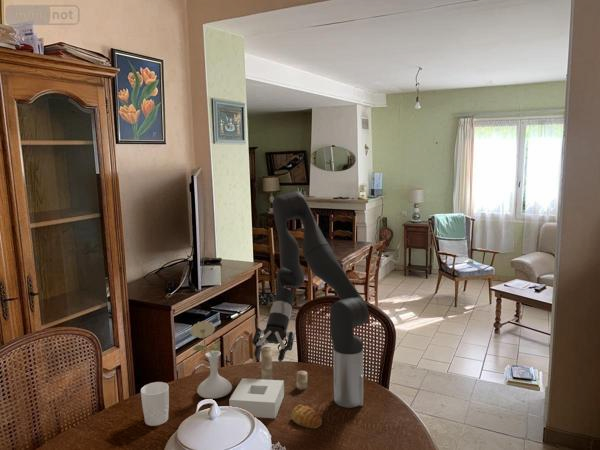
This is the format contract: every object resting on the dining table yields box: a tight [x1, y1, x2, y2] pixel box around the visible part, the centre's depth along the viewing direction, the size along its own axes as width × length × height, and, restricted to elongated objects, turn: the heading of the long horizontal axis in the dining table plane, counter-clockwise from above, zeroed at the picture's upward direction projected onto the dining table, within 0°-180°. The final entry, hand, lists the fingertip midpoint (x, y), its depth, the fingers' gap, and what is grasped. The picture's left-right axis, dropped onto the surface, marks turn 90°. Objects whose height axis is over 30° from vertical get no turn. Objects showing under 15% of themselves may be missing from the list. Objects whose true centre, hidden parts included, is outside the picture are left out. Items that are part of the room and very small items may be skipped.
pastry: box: [290, 404, 323, 429], centre depth 133 cm, size 9×7×4 cm
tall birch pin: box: [260, 346, 273, 380], centre depth 154 cm, size 4×4×13 cm
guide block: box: [228, 377, 285, 419], centre depth 142 cm, size 14×14×5 cm
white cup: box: [140, 381, 170, 427], centre depth 135 cm, size 8×8×10 cm
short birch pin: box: [296, 370, 308, 391], centre depth 153 cm, size 4×4×5 cm
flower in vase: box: [189, 320, 233, 400], centre depth 149 cm, size 13×11×25 cm
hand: (268, 359), depth 155 cm, fingers open, 8 cm apart
